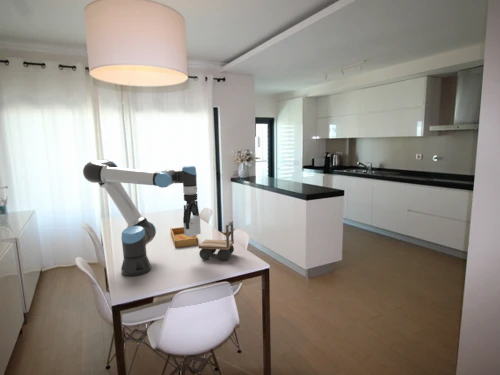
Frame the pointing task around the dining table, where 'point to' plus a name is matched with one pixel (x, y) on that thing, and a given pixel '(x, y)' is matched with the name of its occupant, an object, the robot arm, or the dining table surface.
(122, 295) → the dining table surface
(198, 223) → the small box
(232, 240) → the trolley
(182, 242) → the tray
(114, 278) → the dining table surface
